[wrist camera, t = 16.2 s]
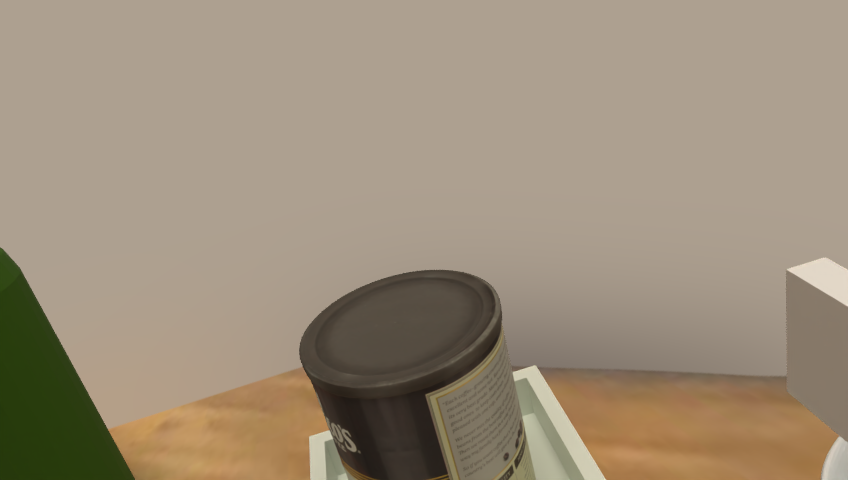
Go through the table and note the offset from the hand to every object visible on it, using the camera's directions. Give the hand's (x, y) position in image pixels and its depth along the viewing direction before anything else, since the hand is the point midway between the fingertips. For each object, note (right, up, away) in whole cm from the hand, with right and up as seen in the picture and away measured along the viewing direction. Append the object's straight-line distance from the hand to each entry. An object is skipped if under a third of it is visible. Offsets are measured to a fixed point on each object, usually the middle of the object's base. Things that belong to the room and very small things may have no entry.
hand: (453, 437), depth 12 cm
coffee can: (+2, -13, +27) cm, 30 cm away
